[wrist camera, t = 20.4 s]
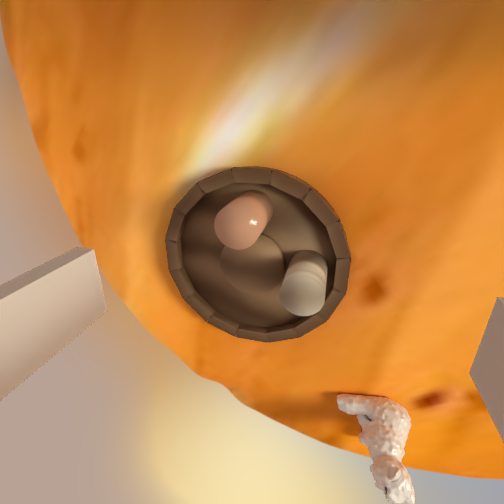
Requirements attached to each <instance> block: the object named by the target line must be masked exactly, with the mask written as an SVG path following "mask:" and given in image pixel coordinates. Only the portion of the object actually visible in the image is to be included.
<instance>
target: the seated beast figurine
mask: <svg viewBox="0 0 504 504" xmlns="http://www.w3.org/2000/svg"><path fill="white" fill-rule="evenodd" d="M337 404H338V408H339V410H341V411H343V412H346V413H347V414H351V415H355V414H357V419H358V423H359V424H360V425H361V427H362V432H361V433H360V434H359V440H360V442H361V443H362V444H364V445H365V446H368V450H369V453H370V455H371V458H372V460H373V463H374V464H372V465H371V466H370V470H371V472H372V474H373V477H374V480H375V481H376V483H375V485H376V487H377V488H379V489H381V490H383V491H384V494H385V495H386V498H387V499H388V502H390V503H392V504H402V503H403V502H407V503H408V504H415V495H414V491H415V490H414V488H413V486H412V483H411V477H410V475H409V473H408V471H407V470H406V467H405V466H404V465H403V464H402V462H401V460H402V458H403V455H405V451H404V446H405V444H406V443H405V441H407V436H408V434H409V430H410V428H411V426H412V425H411V423H410V421H411V418H410V416H409V415H408V412H407V410H406V409H405V408H404V407H403V406H402V405H401V404H398V403H397V402H396V401H394V400H391V399H389V398H387V397H384V398H383V397H381V396H378V397H376V396H365V395H354V394H343V393H342V394H339V395H337Z"/></svg>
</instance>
